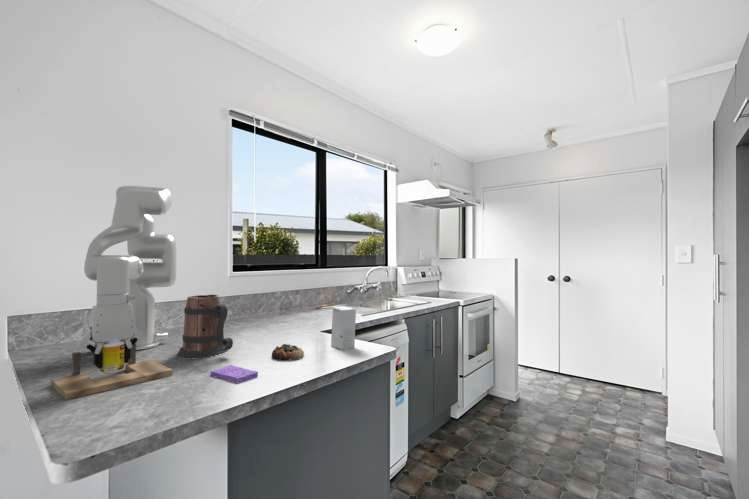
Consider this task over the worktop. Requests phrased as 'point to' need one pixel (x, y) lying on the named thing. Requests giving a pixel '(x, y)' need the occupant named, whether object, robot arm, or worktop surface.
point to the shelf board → (85, 385)
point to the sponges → (234, 373)
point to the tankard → (204, 328)
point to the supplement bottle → (112, 356)
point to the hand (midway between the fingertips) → (112, 364)
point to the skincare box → (343, 327)
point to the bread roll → (287, 353)
